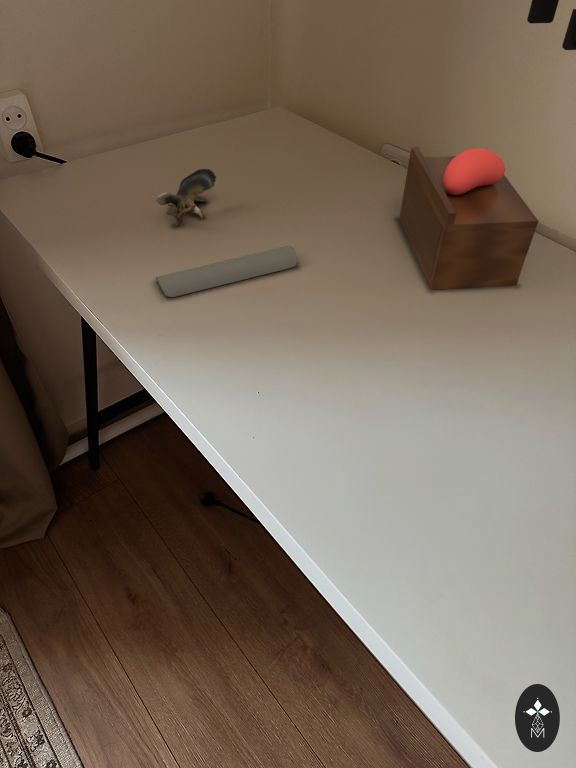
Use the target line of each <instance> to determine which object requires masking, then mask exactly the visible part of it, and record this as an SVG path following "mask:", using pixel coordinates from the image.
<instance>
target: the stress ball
mask: <svg viewBox="0 0 576 768" xmlns="http://www.w3.org/2000/svg"><path fill="white" fill-rule="evenodd" d="M455 156H456V157H455V158H453V159H452V161H451V162H450V163H449V165H448V166H447V168H446V170H445V173H444V182H443V183H444V187H445V190H446V191H447V192H449V193H450V194H452V195H460V194H463V193H465V192H468V191H470V190H472V189H474V188H475V187H479V186H484V185H490V184H494V183H497V182H498V181H500V180H501V179H502V177H503V176H504V175H506V174H505V173H506V165H505V163H504V161H503V160H502V158H501V157H500V156H499V155H498V154H497V153H496V152H494V151H492V150H489V149H488V148H478V147H477V148H476V147H475V148H470V149H467V150H464V151H462V152H460V153H459V154H457V155H455Z"/></svg>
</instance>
